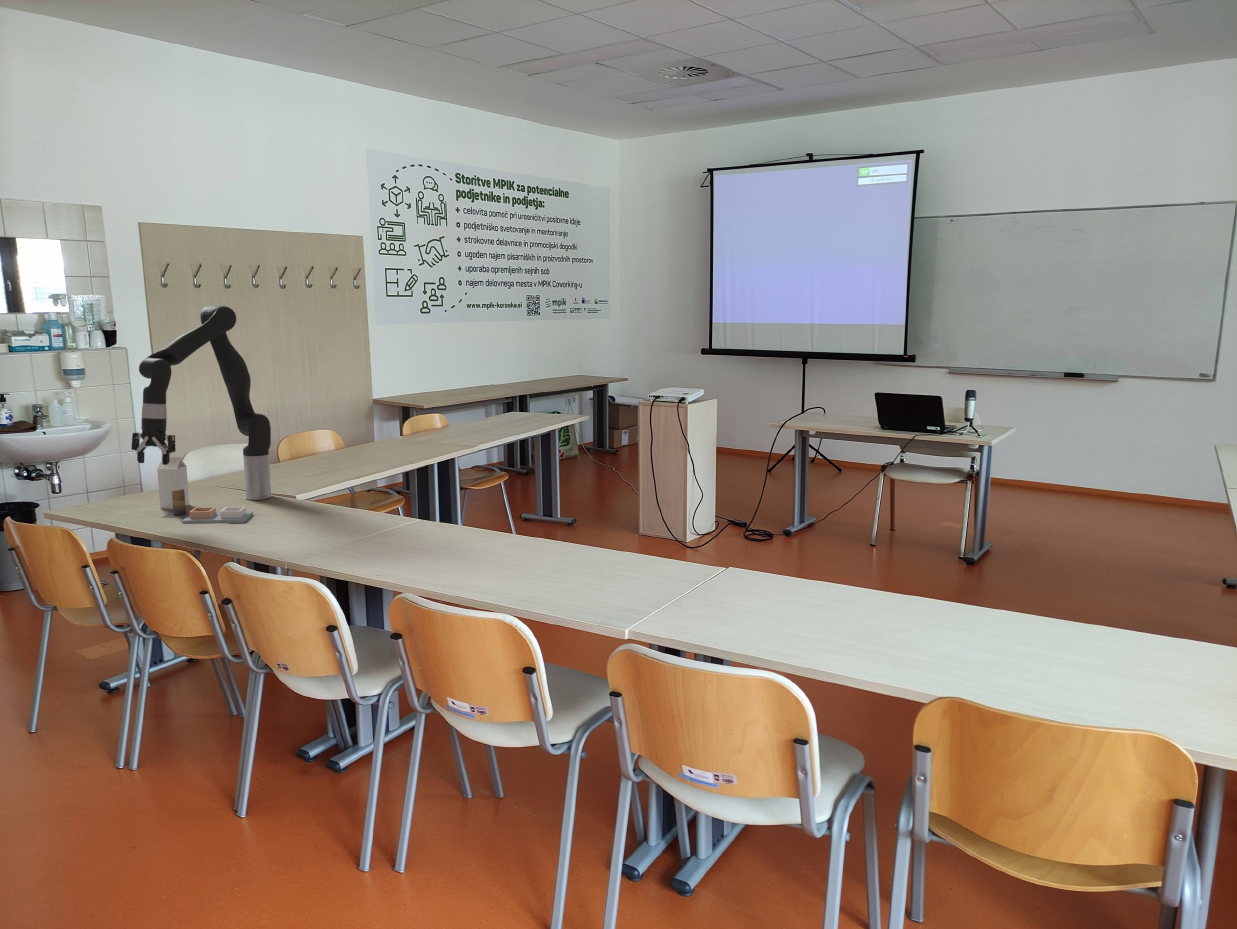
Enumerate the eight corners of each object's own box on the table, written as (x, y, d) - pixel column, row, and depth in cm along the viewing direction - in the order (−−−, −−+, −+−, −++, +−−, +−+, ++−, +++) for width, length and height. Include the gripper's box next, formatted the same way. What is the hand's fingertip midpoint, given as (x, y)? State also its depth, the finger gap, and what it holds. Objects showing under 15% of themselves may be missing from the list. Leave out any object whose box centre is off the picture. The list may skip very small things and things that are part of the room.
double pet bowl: (193, 515, 302) (193, 505, 302) (253, 514, 305) (252, 504, 305) (182, 524, 291) (181, 513, 290) (243, 522, 294) (243, 512, 293)
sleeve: (175, 513, 304) (174, 488, 303) (187, 512, 305) (185, 488, 303) (171, 515, 300) (169, 491, 299) (183, 515, 301) (182, 490, 299)
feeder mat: (171, 512, 306) (170, 511, 306) (197, 512, 308) (197, 511, 308) (161, 518, 298) (161, 517, 297) (189, 518, 299) (189, 517, 299)
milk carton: (179, 509, 311) (175, 458, 307) (160, 509, 311) (156, 458, 307) (189, 505, 318) (185, 455, 314) (170, 504, 318) (166, 454, 314)
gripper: (180, 418, 294) (179, 464, 296) (141, 415, 295) (140, 461, 296) (167, 418, 287) (166, 466, 288) (127, 415, 288) (126, 463, 289)
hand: (153, 463), depth 292 cm, fingers open, 8 cm apart
